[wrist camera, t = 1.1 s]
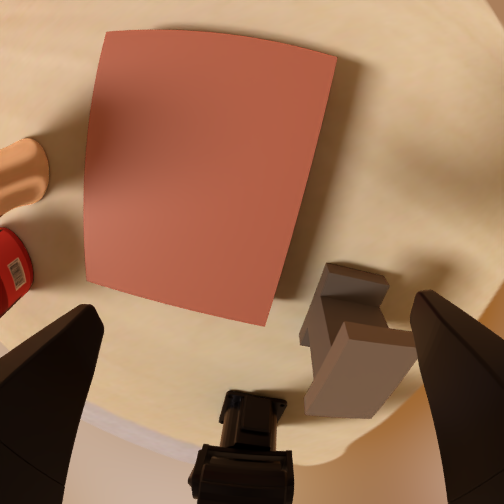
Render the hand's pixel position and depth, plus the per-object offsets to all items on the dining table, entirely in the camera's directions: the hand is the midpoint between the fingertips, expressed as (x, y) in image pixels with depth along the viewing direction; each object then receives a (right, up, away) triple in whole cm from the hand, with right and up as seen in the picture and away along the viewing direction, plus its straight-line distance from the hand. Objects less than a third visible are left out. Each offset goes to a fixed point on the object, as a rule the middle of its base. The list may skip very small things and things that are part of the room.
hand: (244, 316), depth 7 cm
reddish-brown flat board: (-4, +7, +12) cm, 14 cm away
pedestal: (+7, -3, +16) cm, 18 cm away
